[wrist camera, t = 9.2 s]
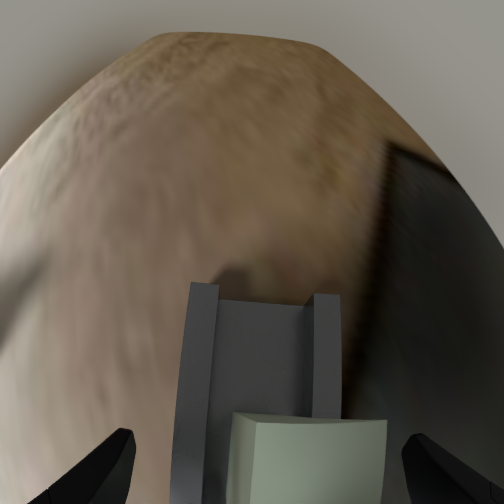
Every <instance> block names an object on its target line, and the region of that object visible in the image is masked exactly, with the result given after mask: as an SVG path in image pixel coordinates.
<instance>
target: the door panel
mask: <svg viewBox="0 0 504 504" xmlns="http://www.w3.org/2000/svg"><path fill="white" fill-rule="evenodd" d="M386 435H387V420H345V419H324V418H309V417H297V416H286V415H273V414H255V413H241V412H233V416H232V428H231V440H230V452H229V464H228V476H227V488H226V504H380V502H381V494H382V485H383V476H384V465H385V452H386Z"/></svg>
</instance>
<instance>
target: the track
mask: <svg viewBox="0 0 504 504" xmlns="http://www.w3.org/2000/svg"><path fill="white" fill-rule="evenodd" d="M341 396H342V341H341V307H340V295H335V294H321V293H313V295H312V296H311V297H310V299H309V300H308V301H307V303H306V304H305V305H304V306H297V305H283V304H270V303H258V302H247V301H236V300H225V299H220V285H216V284H206V283H196V282H191V285H190V292H189V299H188V306H187V314H186V321H185V329H184V337H183V345H182V353H181V362H180V371H179V380H178V390H177V400H176V411H175V422H174V434H173V447H172V462H171V479H170V499H169V504H226V488H227V476H228V464H229V452H230V440H231V428H232V416H233V412H241V413H255V414H273V415H286V416H297V417H309V418H324V419H341Z"/></svg>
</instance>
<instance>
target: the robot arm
mask: <svg viewBox="0 0 504 504" xmlns="http://www.w3.org/2000/svg"><path fill="white" fill-rule="evenodd" d="M135 454H136V443H135V439H134V434H133V431H132V430H130V429H125V428H118V429H117V430H116V431H115V432H114V433H113V434H111V435H110V436H109V437H108V438H107V439H106V440H104V441H103V442H102V443H101V444H100V445H99V446H98V447H96V448H95V449H94V450H93V451H92V452H91V453H89V454H88V455H87V456H86V457H85V458H83V459H82V460H81V461H80V462H79V463H78V464H76V465H75V466H74V467H73V468H72V469H70V470H69V471H68V472H67V473H66V474H64V475H63V476H62V477H61V478H60V479H58V480H57V481H56V482H55V483H53V484H52V485H51V486H50V487H49V488H48V489H46V490H45V491H43V492H42V493H41V494H40V495H38V496H37V497H36V498H34V499H33V500H32V501H30V502H29V503H27V504H125V502H126V499H127V496H128V492H129V488H130V482H131V476H132V471H133V465H134V459H135ZM402 460H403V466H404V471H405V477H406V483H407V488H408V492H409V496H410V500H411V503H412V504H504V490H503V489H502V488H500V487H498V486H497V485H495V484H494V483H492V482H491V481H490V482H489V480H488V479H486V478H485V477H483V476H482V475H481V474H479V473H478V472H476V471H475V470H473V469H472V468H470V467H469V466H468V465H466V464H465V463H463V462H462V461H460V460H459V459H458V458H456V457H455V456H453V455H452V454H451V453H449V452H448V451H446V450H445V449H444V448H442V447H441V446H439V445H438V444H437V443H435V442H434V441H432V440H431V439H430V438H428V437H427V436H426V435H424V434H422V433H419V434H413V435H411V436H410V438H409V439H408V441H407V442H406V444H405V446H404V447H403V449H402Z"/></svg>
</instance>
